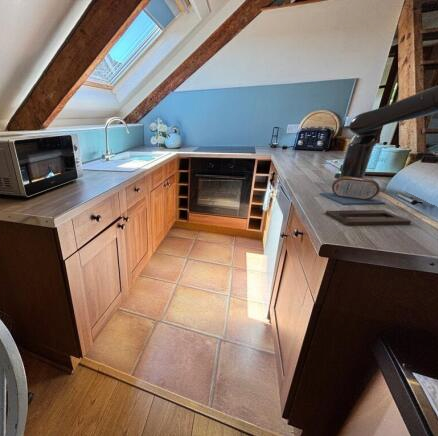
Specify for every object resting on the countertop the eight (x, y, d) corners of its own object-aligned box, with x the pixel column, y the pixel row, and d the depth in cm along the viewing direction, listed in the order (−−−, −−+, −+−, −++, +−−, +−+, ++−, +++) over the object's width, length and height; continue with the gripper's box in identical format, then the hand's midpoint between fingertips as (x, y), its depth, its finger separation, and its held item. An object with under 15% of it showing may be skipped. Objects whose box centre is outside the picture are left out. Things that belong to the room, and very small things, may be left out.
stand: (325, 213, 87) (326, 210, 86) (382, 213, 86) (383, 209, 86) (346, 225, 78) (347, 221, 77) (410, 224, 77) (411, 221, 77)
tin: (375, 200, 98) (382, 179, 95) (375, 202, 96) (383, 181, 92) (329, 194, 106) (334, 175, 103) (329, 195, 104) (334, 176, 101)
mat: (320, 194, 108) (320, 193, 108) (356, 193, 108) (356, 192, 108) (343, 204, 95) (343, 203, 95) (384, 203, 95) (384, 202, 95)
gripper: (486, 146, 81) (418, 144, 90) (508, 152, 71) (428, 148, 80) (475, 169, 84) (410, 164, 93) (494, 177, 74) (419, 171, 83)
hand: (418, 157), depth 86 cm, fingers open, 8 cm apart
